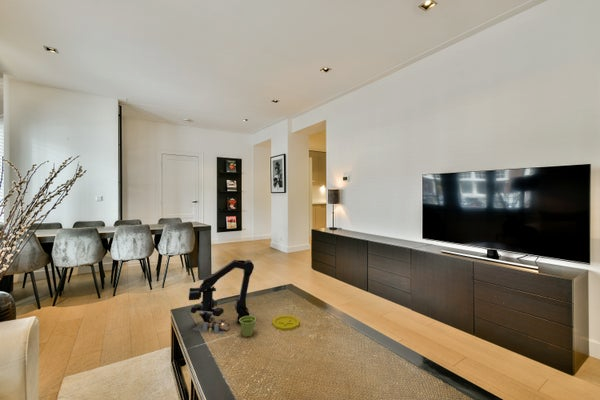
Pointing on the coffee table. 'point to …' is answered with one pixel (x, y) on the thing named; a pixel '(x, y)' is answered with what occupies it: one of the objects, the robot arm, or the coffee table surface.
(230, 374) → the coffee table surface
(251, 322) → the plant pot
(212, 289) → the robot arm
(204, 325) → the board
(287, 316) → the decorative disc
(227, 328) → the copper tube
